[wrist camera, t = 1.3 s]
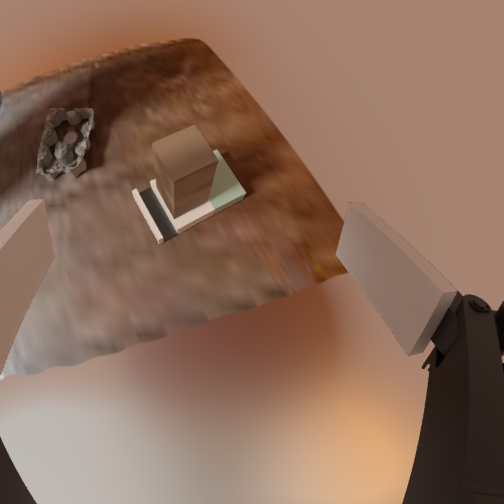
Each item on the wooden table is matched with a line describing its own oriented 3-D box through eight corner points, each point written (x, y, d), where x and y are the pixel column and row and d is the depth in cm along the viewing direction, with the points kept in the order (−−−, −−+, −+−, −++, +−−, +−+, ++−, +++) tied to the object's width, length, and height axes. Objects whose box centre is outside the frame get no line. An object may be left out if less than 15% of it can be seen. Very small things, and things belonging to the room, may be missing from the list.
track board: (133, 197, 37) (131, 190, 35) (215, 157, 40) (217, 149, 39) (159, 244, 36) (158, 240, 34) (242, 199, 40) (246, 193, 38)
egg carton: (57, 120, 37) (49, 103, 33) (101, 118, 38) (96, 100, 35) (37, 183, 34) (26, 169, 30) (85, 182, 36) (77, 168, 32)
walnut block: (156, 188, 36) (151, 143, 26) (189, 172, 37) (194, 124, 28) (174, 219, 35) (174, 181, 26) (207, 201, 37) (218, 160, 27)
